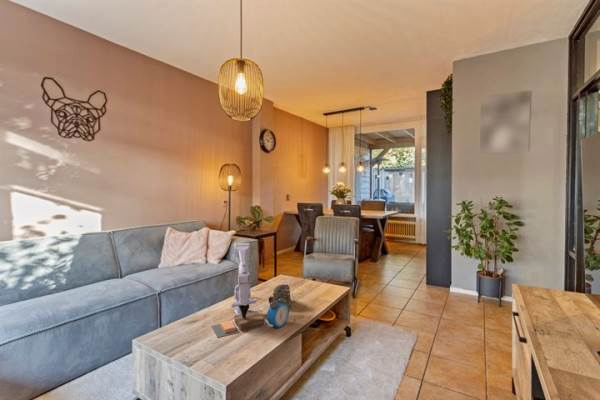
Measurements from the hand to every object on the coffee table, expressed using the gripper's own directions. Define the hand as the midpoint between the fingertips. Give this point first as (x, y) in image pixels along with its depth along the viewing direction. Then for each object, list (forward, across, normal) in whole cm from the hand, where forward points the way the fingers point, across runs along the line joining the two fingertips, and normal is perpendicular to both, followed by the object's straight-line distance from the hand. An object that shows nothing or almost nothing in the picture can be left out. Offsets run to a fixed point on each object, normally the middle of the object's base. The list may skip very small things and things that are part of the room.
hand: (243, 317), depth 169 cm
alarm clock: (+5, +17, -9) cm, 20 cm away
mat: (+5, -11, 0) cm, 12 cm away
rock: (+5, +31, +17) cm, 36 cm away
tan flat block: (+5, +3, 0) cm, 6 cm away
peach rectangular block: (+2, -9, 0) cm, 10 cm away
